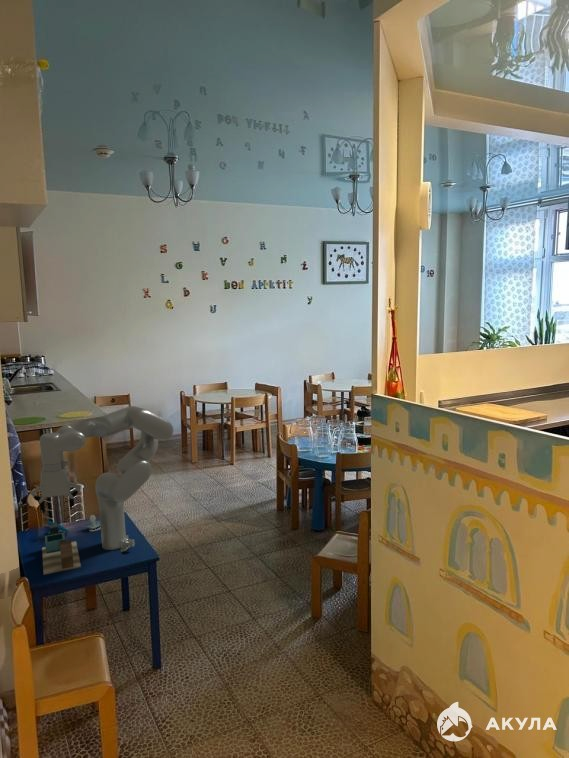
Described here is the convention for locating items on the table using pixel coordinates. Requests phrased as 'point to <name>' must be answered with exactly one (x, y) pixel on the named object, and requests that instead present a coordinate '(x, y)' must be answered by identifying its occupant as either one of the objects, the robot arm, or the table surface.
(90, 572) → the table surface
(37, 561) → the table surface
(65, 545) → the rail end
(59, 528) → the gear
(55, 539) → the cup bracket
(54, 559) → the base board
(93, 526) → the pacifier
